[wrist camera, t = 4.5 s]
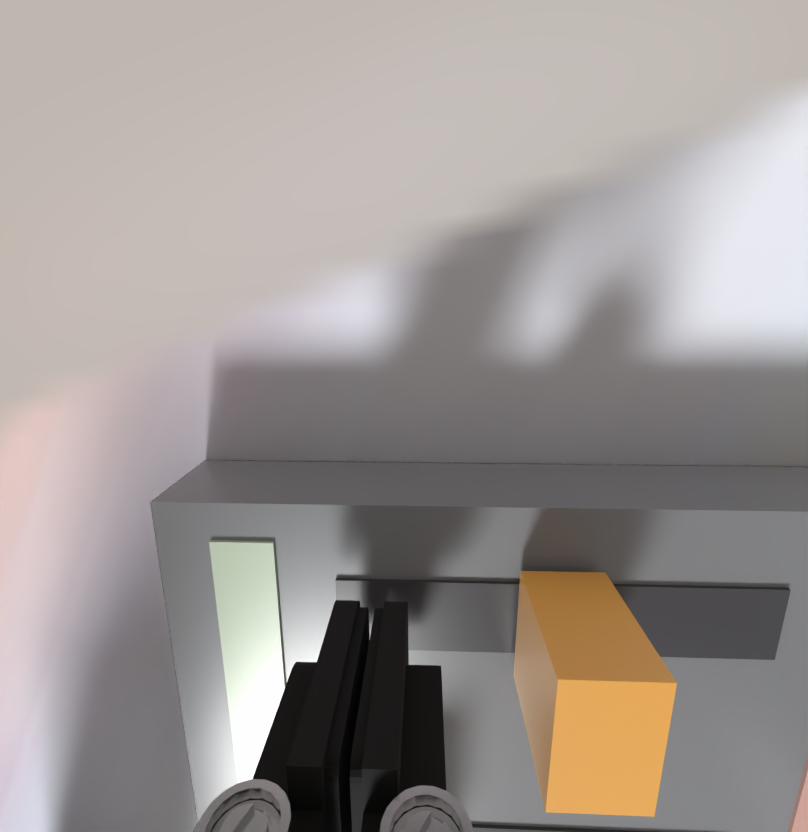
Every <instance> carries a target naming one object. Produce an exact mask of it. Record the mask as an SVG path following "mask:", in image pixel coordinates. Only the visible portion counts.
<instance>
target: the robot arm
mask: <svg viewBox="0 0 808 832" xmlns="http://www.w3.org/2000/svg"><path fill="white" fill-rule="evenodd" d="M193 832H474V830H473V826H472V824H471V821H470V818H469V816H468V813H467V811H466V810H465V808H464V807H463V806H462V804H461V803H460V802H459V800H458V799H457V798H455V797H454V796H453V795H451V794H450V793H449V792H447V791H446V770H445V745H444V721H443V697H442V673H441V666H438V665H409V651H408V602H403V601H385V602H384V607H383V608H375V610H374V617H373V623H372V629H371V635H369V609H368V607H360V601H353V600H336V601H335V603H334V606H333V609H332V613H331V616H330V619H329V623H328V626H327V630H326V633H325V636H324V640H323V643H322V646H321V650H320V653H319V657H318V660H317V662H296V663H295V664H294V666H293V668H292V670H291V673H290V676H289V678H288V681H287V684H286V687H285V690H284V692H283V695H282V698H281V701H280V703H279V706H278V709H277V712H276V715H275V717H274V720H273V723H272V726H271V729H270V731H269V734H268V737H267V740H266V743H265V745H264V748H263V751H262V754H261V757H260V759H259V762H258V765H257V768H256V770H255V773H254V776H253V779H251V780H247V781H244V782H240V783H237V784H235V785H234V786H232V787H230V788H228V789H226V790H225V791H223V792H222V793H221V794H220V795H219V796H218V797H217V798H215V799H214V800H213V801H212V802H211V804H210V805H209V806H208V808H207V809H206V810H205V812H204V813H203V815H202V816H201V818H200V820H199V821H198V823H197V825H196V827H195V828H194V830H193Z"/></svg>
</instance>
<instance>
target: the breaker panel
mask: <svg viewBox="0 0 808 832" xmlns="http://www.w3.org/2000/svg"><path fill="white" fill-rule="evenodd" d="M150 504H151V510H152V517H153V524H154V531H155V537H156V544H157V551H158V557H159V564H160V571H161V578H162V584H163V591H164V598H165V605H166V611H167V618H168V625H169V631H170V638H171V645H172V652H173V658H174V665H175V672H176V679H177V685H178V692H179V699H180V705H181V712H182V719H183V726H184V732H185V739H186V746H187V752H188V759H189V766H190V773H191V779H192V786H193V793H194V800H195V806H196V813H197V820H198V821H199V820H200V818H201V816H202V815H203V813H204V812H205V810H206V809H207V808H208V806H209V805H210V804H211V802H212V801H213V800H214V799H215V798H217V797H218V796H219V795H220V794H221V793H222V792H223V791H225V790H226V789H228V788H230V787H232V786H234V785H235V784H237V783H240V782H244V781H247V780H251V779H253V776H254V773H255V770H256V768H257V765H258V762H259V759H260V757H261V754H262V751H263V748H264V745H265V743H266V740H267V737H268V734H269V731H270V729H271V726H272V723H273V720H274V717H275V715H276V712H277V709H278V706H279V703H280V701H281V698H282V695H283V692H284V690H285V687H286V684H287V681H288V678H289V676H290V673H291V670H292V668H293V666H294V664H295V663H296V662H317V660H318V657H319V653H320V650H321V646H322V643H323V640H324V636H325V633H326V630H327V626H328V623H329V619H330V616H331V613H332V609H333V606H334V603H335V601H336V600H353V601H360V607H368V609H369V635H371V629H372V623H373V617H374V610H375V608H383V607H384V602H385V601H403V602H408V651H409V665H438V666H441V673H442V697H443V721H444V745H445V770H446V791H447V792H449V793H450V794H451V795H453V796H454V797H455V798H457V799H458V800H459V802H460V803H461V804H462V806H463V807H464V808H465V810H466V811H467V813H468V816H469V818H470V821H471V824H472V826H473V830H474V832H808V467H770V466H677V465H585V464H493V463H400V462H308V461H216V460H205V461H204V462H202V463H201V464H200V465H198V466H197V467H196V468H194V469H193V470H192V471H190V472H189V473H188V474H186V475H185V476H184V477H183V478H181V479H180V480H179V481H177V482H176V483H175V484H173V485H172V486H171V487H169V488H168V489H167V490H166V491H164V492H163V493H162V494H160V495H159V496H158V497H156V498H155V499H154V500H152V501H151V502H150ZM520 571H555V572H605V573H606V574H607V576H608V577H609V579H610V580H611V582H612V583H613V585H614V587H615V588H616V590H617V591H618V593H619V594H620V596H621V597H622V599H623V600H624V602H625V603H626V605H627V607H628V608H629V610H630V611H631V613H632V614H633V616H634V617H635V619H636V620H637V622H638V624H639V625H640V627H641V628H642V630H643V631H644V633H645V634H646V636H647V637H648V639H649V640H650V642H651V644H652V645H653V647H654V648H655V650H656V651H657V653H658V654H659V656H660V657H661V659H662V661H663V662H664V664H665V665H666V667H667V668H668V670H669V671H670V673H671V674H672V676H673V677H674V679H675V681H676V682H677V686H676V692H675V698H674V704H673V710H672V716H671V722H670V728H669V734H668V740H667V745H666V751H665V757H664V763H663V769H662V775H661V781H660V787H659V793H658V799H657V804H656V810H655V816H654V817H649V816H624V815H599V814H574V813H550V812H545V808H544V804H543V800H542V795H541V791H540V787H539V782H538V778H537V774H536V770H535V765H534V761H533V757H532V752H531V748H530V744H529V740H528V735H527V731H526V727H525V723H524V718H523V714H522V710H521V705H520V701H519V697H518V693H517V688H516V684H515V680H514V659H515V644H516V629H517V613H518V598H519V583H520Z"/></svg>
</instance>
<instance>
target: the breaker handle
mask: <svg viewBox="0 0 808 832" xmlns="http://www.w3.org/2000/svg"><path fill="white" fill-rule="evenodd" d="M514 680H515V684H516V688H517V693H518V697H519V701H520V705H521V710H522V714H523V718H524V723H525V727H526V731H527V735H528V740H529V744H530V748H531V752H532V757H533V761H534V765H535V770H536V774H537V778H538V782H539V787H540V791H541V795H542V800H543V804H544V808H545V812H550V813H574V814H599V815H624V816H649V817H654V816H655V810H656V804H657V799H658V793H659V787H660V781H661V775H662V769H663V763H664V757H665V751H666V745H667V740H668V734H669V728H670V722H671V716H672V710H673V704H674V698H675V692H676V686H677V682H676V681H675V679H674V677H673V676H672V674H671V673H670V671H669V670H668V668H667V667H666V665H665V664H664V662H663V661H662V659H661V657H660V656H659V654H658V653H657V651H656V650H655V648H654V647H653V645H652V644H651V642H650V640H649V639H648V637H647V636H646V634H645V633H644V631H643V630H642V628H641V627H640V625H639V624H638V622H637V620H636V619H635V617H634V616H633V614H632V613H631V611H630V610H629V608H628V607H627V605H626V603H625V602H624V600H623V599H622V597H621V596H620V594H619V593H618V591H617V590H616V588H615V587H614V585H613V583H612V582H611V580H610V579H609V577H608V576H607V574H606V573H605V572H555V571H520V583H519V598H518V613H517V629H516V644H515V659H514Z"/></svg>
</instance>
